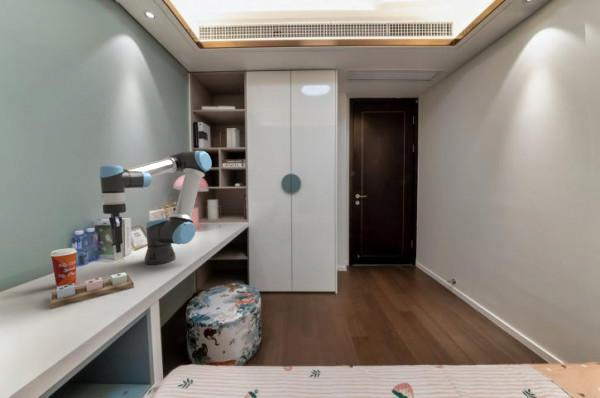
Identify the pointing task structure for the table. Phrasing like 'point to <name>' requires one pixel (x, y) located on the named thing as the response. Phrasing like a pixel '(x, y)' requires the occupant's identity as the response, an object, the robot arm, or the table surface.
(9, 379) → the table surface
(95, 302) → the table surface
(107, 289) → the wooden tray
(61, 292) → the key three
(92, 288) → the key two
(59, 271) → the coffee cup
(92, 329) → the table surface
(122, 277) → the key one
